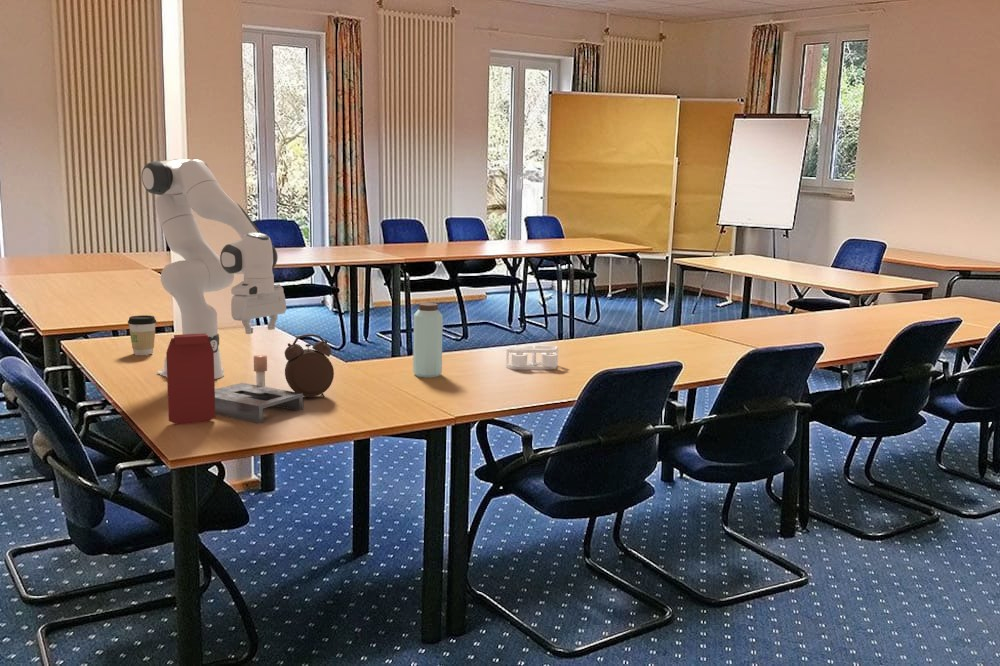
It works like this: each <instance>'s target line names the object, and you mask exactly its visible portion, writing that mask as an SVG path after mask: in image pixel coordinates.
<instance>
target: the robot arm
mask: <svg viewBox="0 0 1000 666" xmlns="http://www.w3.org/2000/svg"><path fill="white" fill-rule="evenodd" d="M141 182H142V185H143V187H144V188H145V190H146V191H147V192H148V193H149V194H152V195H157V196H156V199H155V207H156V214H157V216H158V220H159V224H160V227H161V230H162V232H163V234H164V235H163V236H164V238H165V240H166V242H167V246H168V247H169V249H170V250H171V251H172V252H173V253H175V254H177V255H179V256H181V257H182V258H183V260H178V261H174V262H172V263H168V264H166V265H165V266H164V267H162V268H163V269H162V270H161V274H160V282H161V285H162V287H163V289H164V290H165V291H166V292H167V293H168V294H170V295H171V296H172V297H173V298H174V299H175V301H176V303H177V305H178V307H179V310H180V317H181V325H182V326H181V331H182V333H181V335H182V334H201V333H206V334H207V335H208V338H209V340H210V343H211V346H212V348H213V351H214V380H216V379H220V378H223V377H224V376H225V374H224V371H225V370H224V368H223V366H222V358H221V357H222V356H221V351H220V349H219V346H220V335H219V333H218V313H217V310H216V308H215V307H213V306H211V305H210V304H208V303H207V302H206V300H205V297H204V293H209V292H217V291H218V292H219V291H221V290H223V289H226V288H228V287H230V286H231V285H232V283H233V281H234V278H235V275H242V274H243V280H242V281H241V282H239V283H237V284H236V285H235V286H232V287H231V289H230V290H231V294H232V295H233V296H232V297H231V304H230V306H231V307H230V308H231V309H230V310H231V313H230V314H231V318H232V319H233V320H234V321H240V322H241V323H242V325H243V326H244V330H245V332H244V333H245V335H253V334H254V328H253V327H251V320H253V319H260V318H266V317H269V322H268V323H267V331H268V330H270V331H272V330H275V329H276V322H277V320H278V318H279V317H278V315H282V314H285V313H286V311H287V302H286V296H285V293H284V288H283V286H282V285H281V284H280V283H278V284H275V280H274V279H275V278H274V277H275V275H274V273H273V270H274V268H275V267H276V265H277V262H278V253H277V250H276V247H275V246H274V245H273V244H272V240H271V238H270V236H269V235H268V234H265V233H262V232H261V231H260V229H259V228H258V227H257V225H256V224H255V223H254V221H253V220H252V219H251V218H250V216H249V215H248V213H247V212H246V211H245V209H244V208H243V207H242V206H241V205H240V204H239V203H237V202H236V201H234V200H233V199H232V198H231V197H230V196H229V195H228V194H227V193H226V192H225V191H224V189H223V187H222V186H221V184H220V183H219V181H218V180H217V178H216V177H215V175H214V173H213V172H212V171H211V170H210V168H209V166H208V164H207V163H206V162H205V161H203V160H201V159H197V158H196V159H195V158H190V159H189V158H188V159H187V158H174V159H168V160H161V161H160V160H159V161H158V160H155V161H151V162H148V163H147V164H145V165H144V166H143V169H142V172H141ZM194 212H195V214H196V215H198V216H199V217H201V218H204V219H207V220H212V221H215V222H218V223H223V224H225V225H227V226H229V227H231V228H232V229H233V230H235V232H237V235H239V237H240V239H239V240H237V241H234V242H231V243H228V244H225V246H223V247H222V249H221V251H220V255H219V254H217V252H215V250H214V249H212V248H211V246H210V244H208V243H207V241H206V239H205V237H204V235H203V233H202V232H201V228H200V226H199V224H198V222H197V221H198V220H197V218H196V216H195V214H194ZM163 362H164V363H163V365H164V366H163V367H164V368H163V369H159V370H158V371H157V372H156V375H157V374H160V375H163V376H166V377H167V358H166V357H165V358H164V361H163ZM160 375H159V376H160ZM163 376H162V377H163ZM166 377H165V378H166Z"/></svg>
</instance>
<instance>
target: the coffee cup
mask: <svg viewBox="0 0 1000 666" xmlns="http://www.w3.org/2000/svg"><path fill="white" fill-rule="evenodd" d="M156 323H157V319H156V318H155V316H154V315H147V314H145V315H144V314H141V315H132V316H130V317H129V318H128V320H127V324H128V326H129V335H130V341H131V342H130V343H131V347H132V351H133V355H134V354H135V355H134V356H137V355H146V356H149V355H148V354H152V353H153V354H154V347H155V340H156V339H155V338H156ZM153 354H152V355H153Z"/></svg>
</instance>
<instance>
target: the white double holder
mask: <svg viewBox="0 0 1000 666" xmlns="http://www.w3.org/2000/svg"><path fill="white" fill-rule="evenodd" d="M510 353H511V364H509V361H510V357H509V356H510ZM529 353H531V361H529V362H528V354H529ZM537 354H541V361H537ZM558 361H559V346H557V345H545V344H544V345H541V344H539V345H524V346H518V347H506V362H505V363H506V364H505V369H508V370H521V371H522V370H556V369H557V367H558V366H559V365H558V363H559V362H558ZM537 365H538V366H537Z"/></svg>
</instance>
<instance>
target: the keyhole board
mask: <svg viewBox="0 0 1000 666" xmlns="http://www.w3.org/2000/svg"><path fill="white" fill-rule="evenodd" d="M303 399H304V396H303V393H297V392H294V391H293V390H292V391H291V390H285V389H281V388H274V387H268V386H265V387H264V386H258V385H256V384H252V383H246V382H239V383H235V384H232V385H227V386H223V387H219V388H215V415H219V416H223V417H226V418H232V419H236V420H240V421H246V422H250V423H254V424H258V425H259V424H264V409H267V408H269V407H273V406H274V407H279V408H284V409H287V410H292V411H297V412H301V411H303V410H304V401H303Z"/></svg>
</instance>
